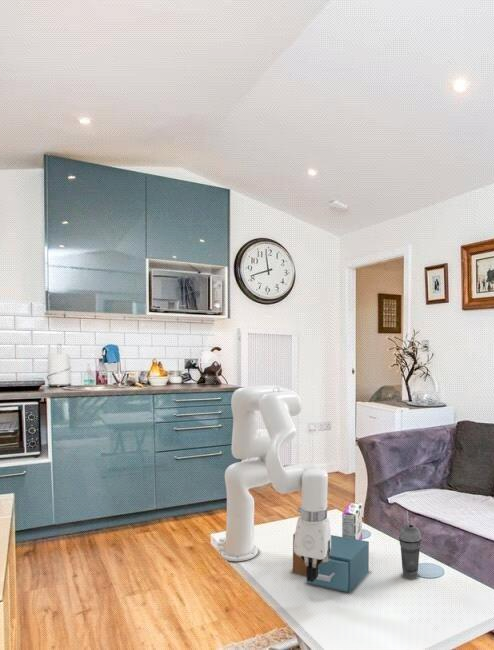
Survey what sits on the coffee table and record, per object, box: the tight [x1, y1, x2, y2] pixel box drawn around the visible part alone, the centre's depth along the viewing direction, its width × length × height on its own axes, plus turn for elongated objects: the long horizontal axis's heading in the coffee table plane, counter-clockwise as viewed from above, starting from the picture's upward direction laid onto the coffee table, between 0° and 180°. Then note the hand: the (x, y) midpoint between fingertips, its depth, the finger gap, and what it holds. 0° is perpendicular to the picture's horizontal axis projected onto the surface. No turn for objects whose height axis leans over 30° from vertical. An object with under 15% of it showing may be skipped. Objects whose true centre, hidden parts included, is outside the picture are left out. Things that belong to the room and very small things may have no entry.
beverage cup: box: [398, 510, 422, 580], centre depth 157 cm, size 7×7×20 cm
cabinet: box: [306, 534, 370, 594], centre depth 155 cm, size 15×15×10 cm
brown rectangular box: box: [292, 533, 307, 576], centre depth 159 cm, size 4×6×12 cm, turn 68°
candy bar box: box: [341, 502, 363, 540], centre depth 171 cm, size 11×5×16 cm, turn 169°
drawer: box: [306, 558, 349, 592], centre depth 151 cm, size 18×13×8 cm
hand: (312, 579), depth 140 cm, fingers closed
